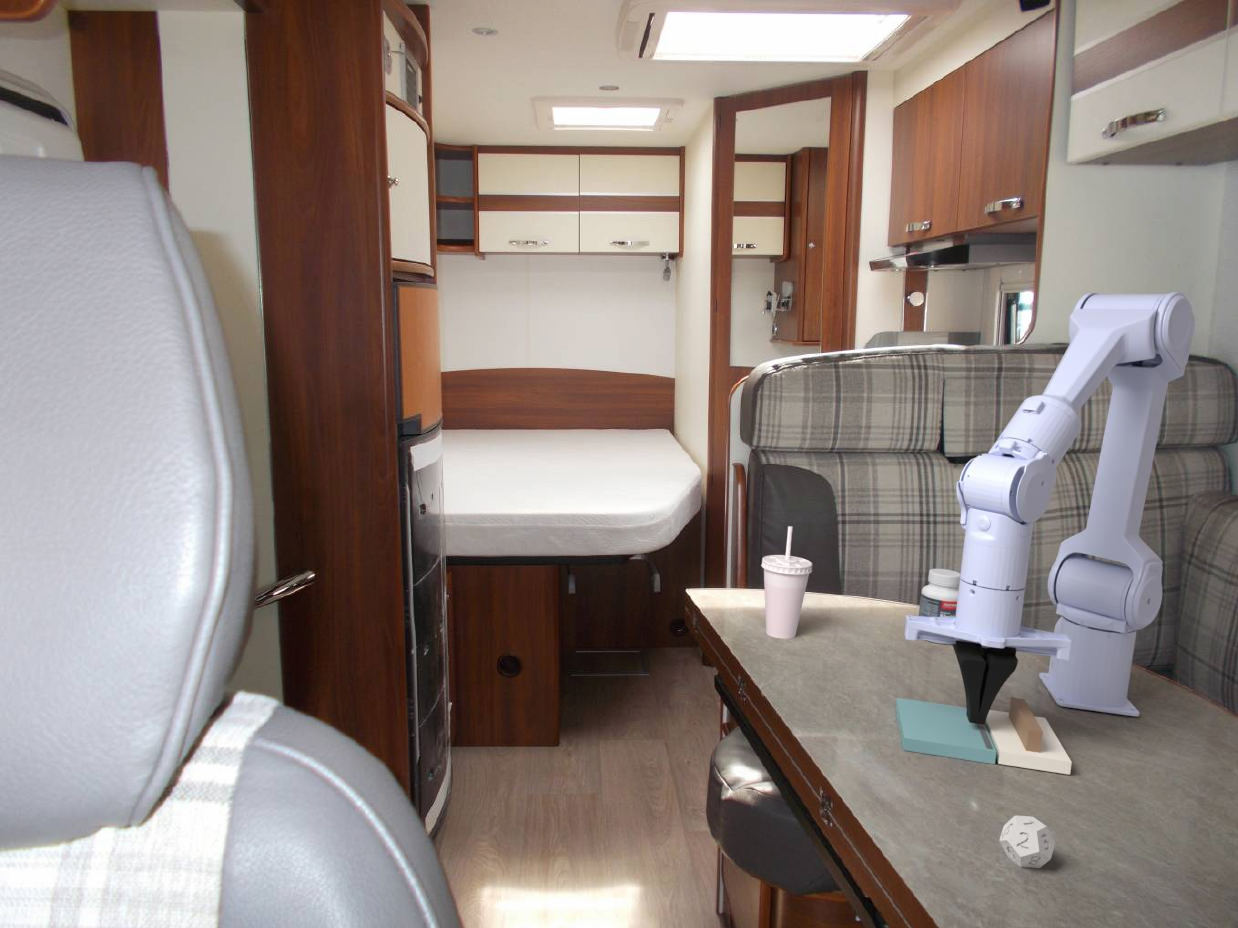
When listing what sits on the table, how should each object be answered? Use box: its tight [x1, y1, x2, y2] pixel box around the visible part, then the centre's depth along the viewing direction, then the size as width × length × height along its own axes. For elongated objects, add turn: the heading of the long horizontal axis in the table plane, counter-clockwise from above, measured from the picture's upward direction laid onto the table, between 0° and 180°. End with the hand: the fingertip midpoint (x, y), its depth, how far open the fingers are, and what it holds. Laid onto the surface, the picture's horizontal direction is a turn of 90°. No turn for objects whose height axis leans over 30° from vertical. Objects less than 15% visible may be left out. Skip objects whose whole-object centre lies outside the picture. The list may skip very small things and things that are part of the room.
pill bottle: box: [918, 568, 961, 645], centre depth 116 cm, size 5×5×9 cm
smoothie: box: [760, 525, 813, 640], centre depth 113 cm, size 6×6×14 cm
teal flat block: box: [894, 697, 997, 765], centre depth 86 cm, size 10×8×1 cm
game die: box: [998, 815, 1056, 869], centre depth 65 cm, size 4×4×3 cm
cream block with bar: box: [985, 696, 1073, 775], centre depth 85 cm, size 10×6×3 cm, turn 167°
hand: (975, 719), depth 86 cm, fingers closed
